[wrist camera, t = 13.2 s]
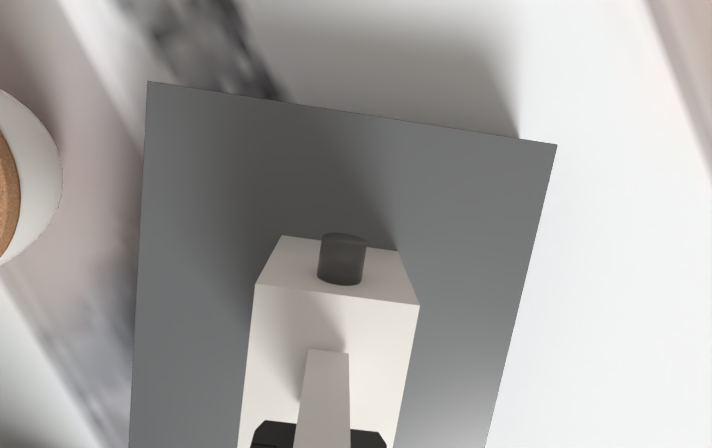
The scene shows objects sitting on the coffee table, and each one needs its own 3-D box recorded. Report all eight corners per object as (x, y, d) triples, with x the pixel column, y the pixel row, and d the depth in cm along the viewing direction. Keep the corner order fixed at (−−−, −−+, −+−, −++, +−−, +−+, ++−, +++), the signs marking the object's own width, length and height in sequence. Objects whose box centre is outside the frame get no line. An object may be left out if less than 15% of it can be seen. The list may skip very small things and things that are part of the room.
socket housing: (162, 396, 31) (128, 448, 26) (183, 88, 27) (147, 81, 22) (455, 430, 32) (475, 486, 27) (520, 140, 28) (557, 144, 23)
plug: (275, 333, 28) (236, 452, 18) (292, 194, 26) (259, 240, 16) (372, 345, 29) (388, 469, 18) (396, 209, 27) (427, 264, 17)
